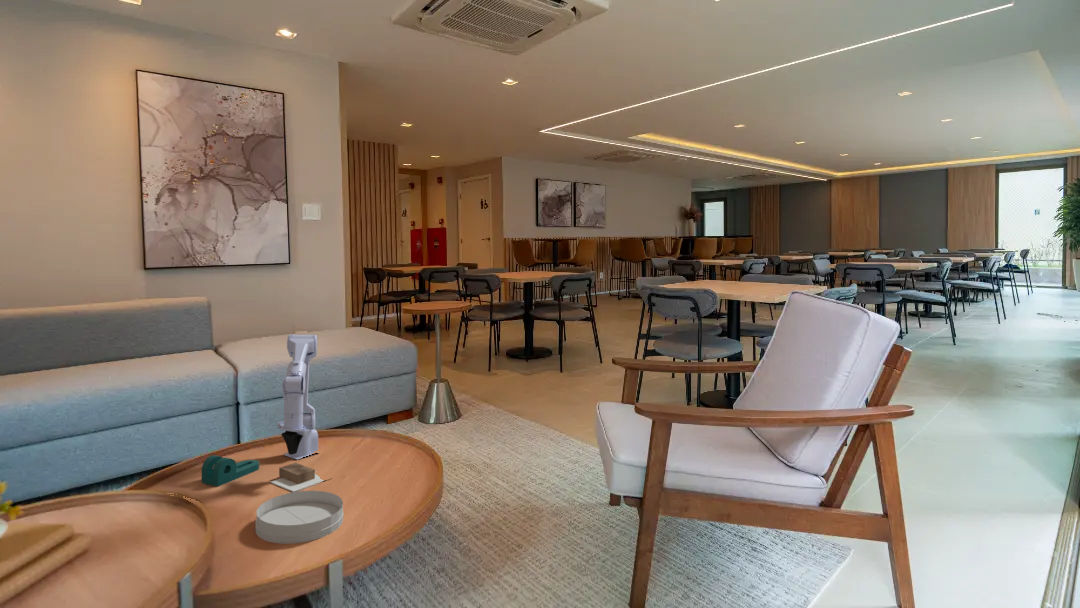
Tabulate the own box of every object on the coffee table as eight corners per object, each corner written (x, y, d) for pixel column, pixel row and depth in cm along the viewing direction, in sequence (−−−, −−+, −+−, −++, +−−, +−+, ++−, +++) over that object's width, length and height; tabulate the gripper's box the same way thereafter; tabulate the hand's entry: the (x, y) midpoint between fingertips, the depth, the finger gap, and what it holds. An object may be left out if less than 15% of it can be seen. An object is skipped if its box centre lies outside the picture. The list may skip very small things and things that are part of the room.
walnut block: (295, 462, 187) (314, 469, 182) (295, 471, 188) (314, 478, 182) (279, 467, 182) (298, 475, 177) (279, 476, 183) (298, 484, 177)
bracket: (218, 487, 174) (218, 462, 173) (201, 483, 176) (201, 459, 175) (263, 468, 191) (264, 445, 190) (248, 465, 193) (248, 442, 192)
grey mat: (309, 470, 190) (309, 469, 190) (332, 478, 184) (332, 477, 184) (270, 482, 178) (270, 481, 178) (293, 492, 172) (293, 491, 172)
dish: (317, 500, 168) (317, 484, 168) (359, 524, 154) (359, 507, 154) (240, 524, 151) (240, 506, 151) (279, 554, 137) (280, 534, 137)
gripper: (268, 411, 183) (268, 451, 184) (296, 419, 175) (295, 461, 176) (288, 407, 189) (287, 446, 190) (315, 414, 181) (314, 455, 182)
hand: (292, 453), depth 183 cm, fingers closed
